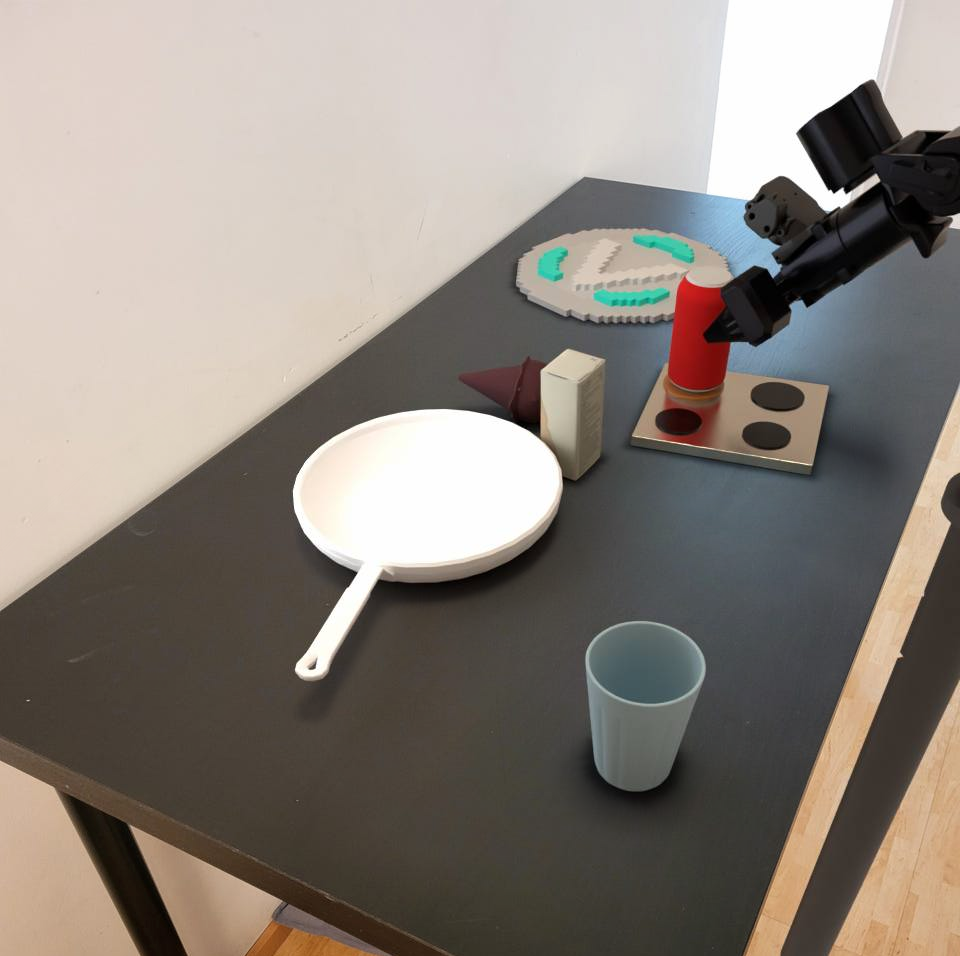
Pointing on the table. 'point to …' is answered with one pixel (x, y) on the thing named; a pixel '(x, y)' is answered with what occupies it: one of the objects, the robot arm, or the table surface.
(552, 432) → the box
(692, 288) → the beverage can
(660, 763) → the cup
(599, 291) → the grey teal round disc
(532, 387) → the icecream
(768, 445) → the stove
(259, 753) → the table surface
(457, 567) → the pan
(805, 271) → the robot arm
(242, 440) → the table surface
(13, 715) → the table surface
